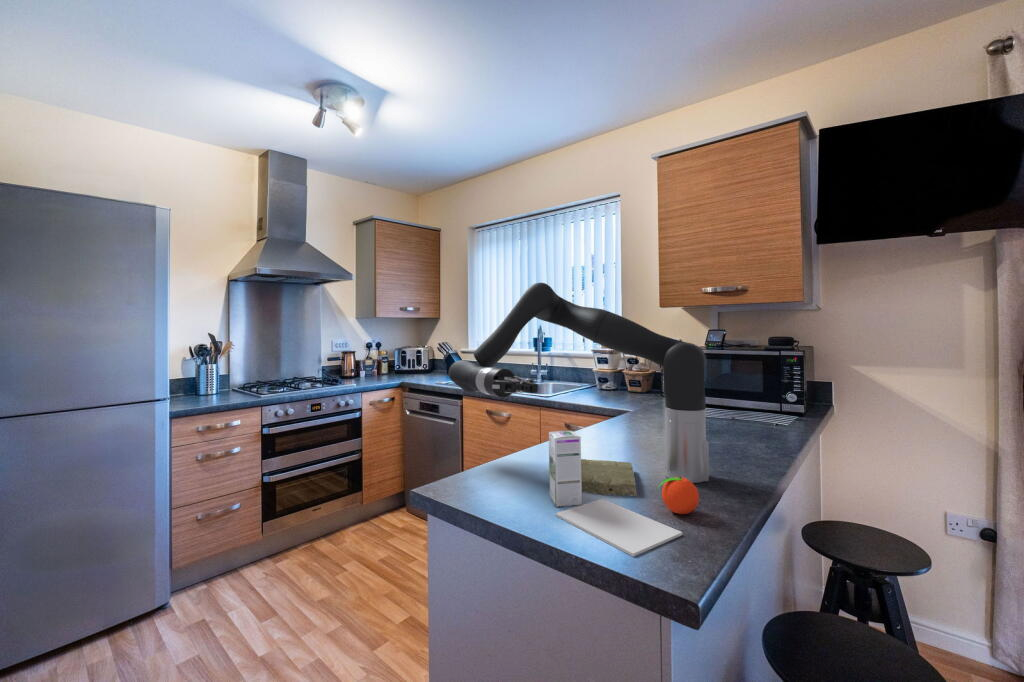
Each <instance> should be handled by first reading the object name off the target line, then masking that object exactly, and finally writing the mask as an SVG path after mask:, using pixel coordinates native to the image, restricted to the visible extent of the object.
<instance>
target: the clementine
mask: <svg viewBox="0 0 1024 682" xmlns="http://www.w3.org/2000/svg"><path fill="white" fill-rule="evenodd" d="M662 485H663V486H662ZM661 486H662V488H661V499H662V501H663V504H664V505H665V506H666V508H668V509H669V511H672V512H673V513H676V514H679V515H688V514H690V513H692V512H694V511H695V510H696V508H697V507H698V505H699V502H700V495H699V491H698V488H697V486H695V483H692V482H691V481H689V480H688V479H686V478H682V477H674V478H668V477H667V478H666V479H664V480H663V481H661V483H660V484H659V485H658V488H657V490H659V488H660V487H661Z"/></svg>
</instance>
